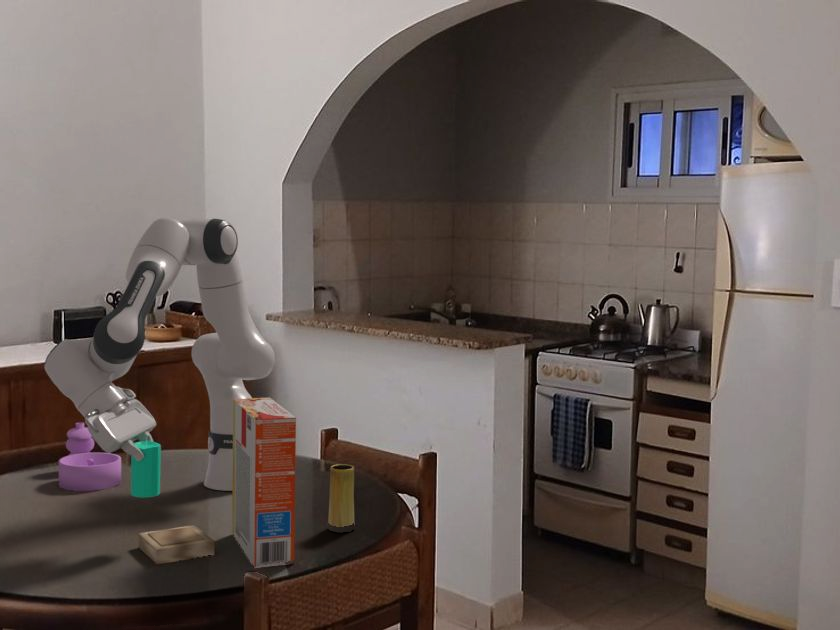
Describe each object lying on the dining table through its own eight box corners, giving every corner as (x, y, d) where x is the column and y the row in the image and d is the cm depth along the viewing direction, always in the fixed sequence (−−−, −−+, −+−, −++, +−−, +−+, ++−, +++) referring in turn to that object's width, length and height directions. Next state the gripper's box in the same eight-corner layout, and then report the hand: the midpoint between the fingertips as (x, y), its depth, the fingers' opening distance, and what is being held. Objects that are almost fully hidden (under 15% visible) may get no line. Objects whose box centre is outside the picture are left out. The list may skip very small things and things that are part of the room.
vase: (358, 527, 229) (360, 465, 228) (348, 535, 223) (349, 471, 222) (334, 524, 231) (335, 462, 230) (323, 531, 225) (324, 468, 224)
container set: (127, 487, 258) (127, 436, 257) (64, 494, 250) (64, 441, 249) (106, 465, 280) (106, 418, 278) (48, 471, 272) (47, 422, 271)
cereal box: (294, 564, 204) (295, 417, 201) (254, 568, 201) (255, 419, 198) (268, 531, 225) (269, 397, 222) (232, 534, 222) (233, 399, 219)
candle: (133, 489, 215) (133, 433, 214) (162, 489, 216) (162, 434, 214) (128, 497, 209) (129, 440, 208) (158, 497, 210) (159, 440, 209)
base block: (193, 538, 218) (194, 524, 218) (214, 554, 208) (214, 539, 208) (138, 547, 212) (138, 532, 212) (156, 564, 202) (156, 548, 201)
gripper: (91, 405, 201) (138, 456, 201) (134, 388, 221) (177, 435, 221) (70, 426, 202) (117, 477, 202) (115, 407, 222) (158, 454, 222)
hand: (149, 455), depth 211 cm, fingers closed on candle, 5 cm apart
